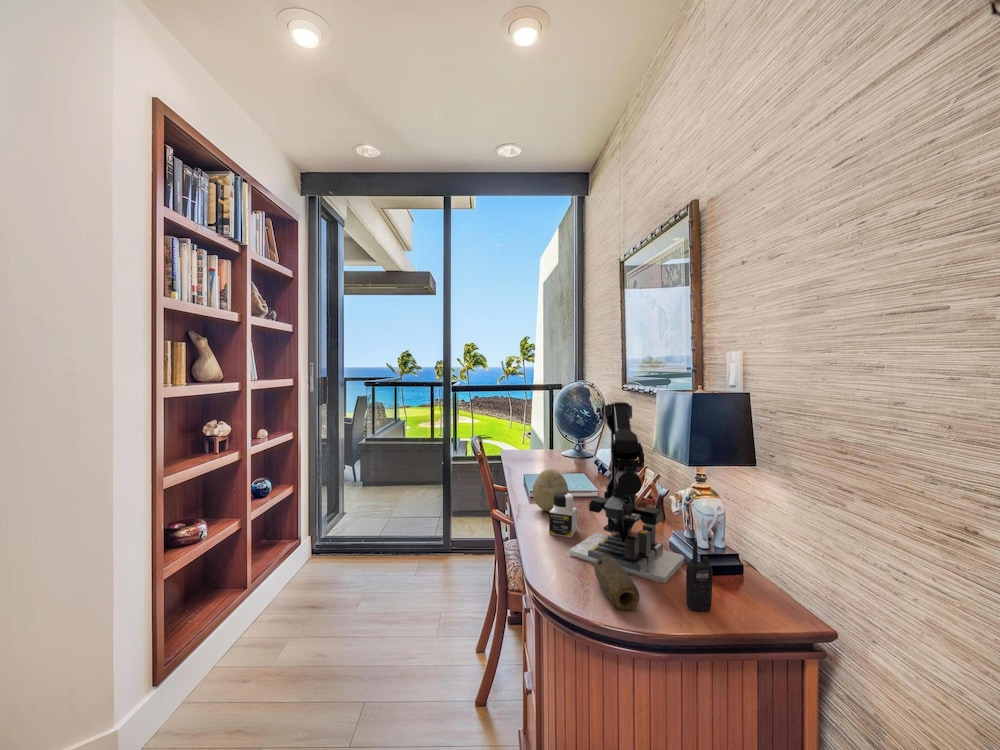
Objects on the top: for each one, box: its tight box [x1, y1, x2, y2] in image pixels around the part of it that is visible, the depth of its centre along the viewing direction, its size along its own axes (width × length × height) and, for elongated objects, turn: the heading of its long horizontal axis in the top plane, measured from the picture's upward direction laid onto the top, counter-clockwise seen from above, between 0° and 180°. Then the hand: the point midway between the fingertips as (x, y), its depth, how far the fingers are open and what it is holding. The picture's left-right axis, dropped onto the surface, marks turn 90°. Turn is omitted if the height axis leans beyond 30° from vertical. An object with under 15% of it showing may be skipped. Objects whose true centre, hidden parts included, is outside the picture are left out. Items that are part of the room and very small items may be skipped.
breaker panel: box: [568, 523, 684, 584], centre depth 124 cm, size 17×26×8 cm, turn 52°
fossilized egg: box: [531, 468, 569, 512], centre depth 164 cm, size 13×13×15 cm
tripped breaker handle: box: [636, 529, 651, 554], centre depth 121 cm, size 3×2×5 cm
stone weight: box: [594, 556, 640, 610], centre depth 104 cm, size 15×7×7 cm, turn 10°
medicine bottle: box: [548, 492, 578, 538], centre depth 143 cm, size 7×7×12 cm
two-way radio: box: [685, 539, 714, 612], centre depth 100 cm, size 6×4×15 cm
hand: (624, 541), depth 125 cm, fingers closed
